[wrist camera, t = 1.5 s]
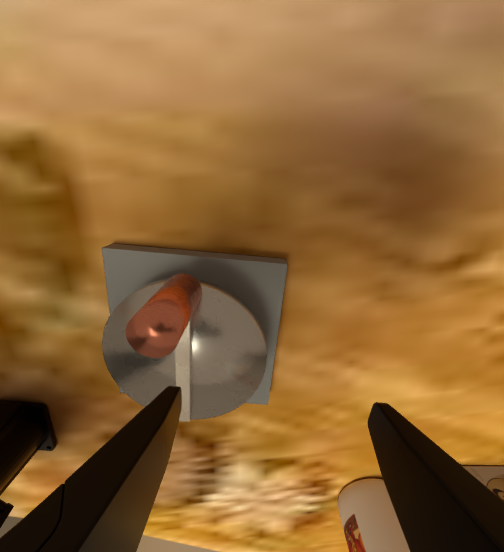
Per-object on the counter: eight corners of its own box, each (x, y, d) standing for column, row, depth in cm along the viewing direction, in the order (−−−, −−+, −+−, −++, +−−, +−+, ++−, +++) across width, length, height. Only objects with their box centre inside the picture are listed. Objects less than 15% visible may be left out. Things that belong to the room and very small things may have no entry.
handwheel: (258, 397, 23) (258, 503, 15) (128, 386, 23) (63, 488, 15) (274, 267, 18) (286, 324, 11) (114, 253, 18) (12, 301, 11)
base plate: (267, 392, 25) (267, 404, 23) (127, 380, 25) (120, 392, 23) (285, 258, 20) (287, 264, 19) (112, 243, 20) (101, 247, 18)
